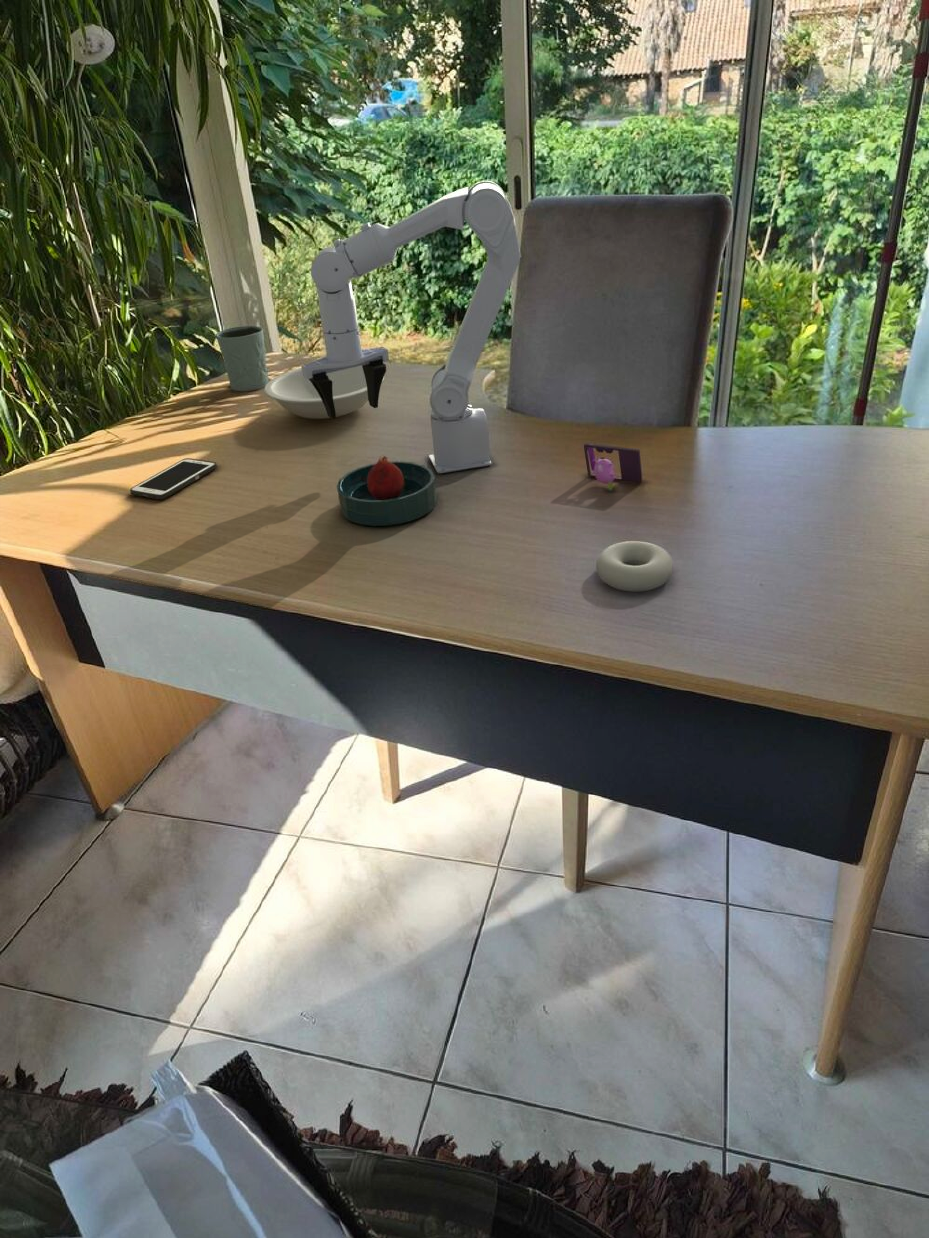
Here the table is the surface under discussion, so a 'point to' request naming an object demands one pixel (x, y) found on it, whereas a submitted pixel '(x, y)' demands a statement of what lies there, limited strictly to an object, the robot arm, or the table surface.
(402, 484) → the onion
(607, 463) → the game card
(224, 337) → the textured green cup
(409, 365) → the table surface
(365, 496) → the teal bowl
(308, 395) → the soup bowl
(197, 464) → the cell phone
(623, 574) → the donut
